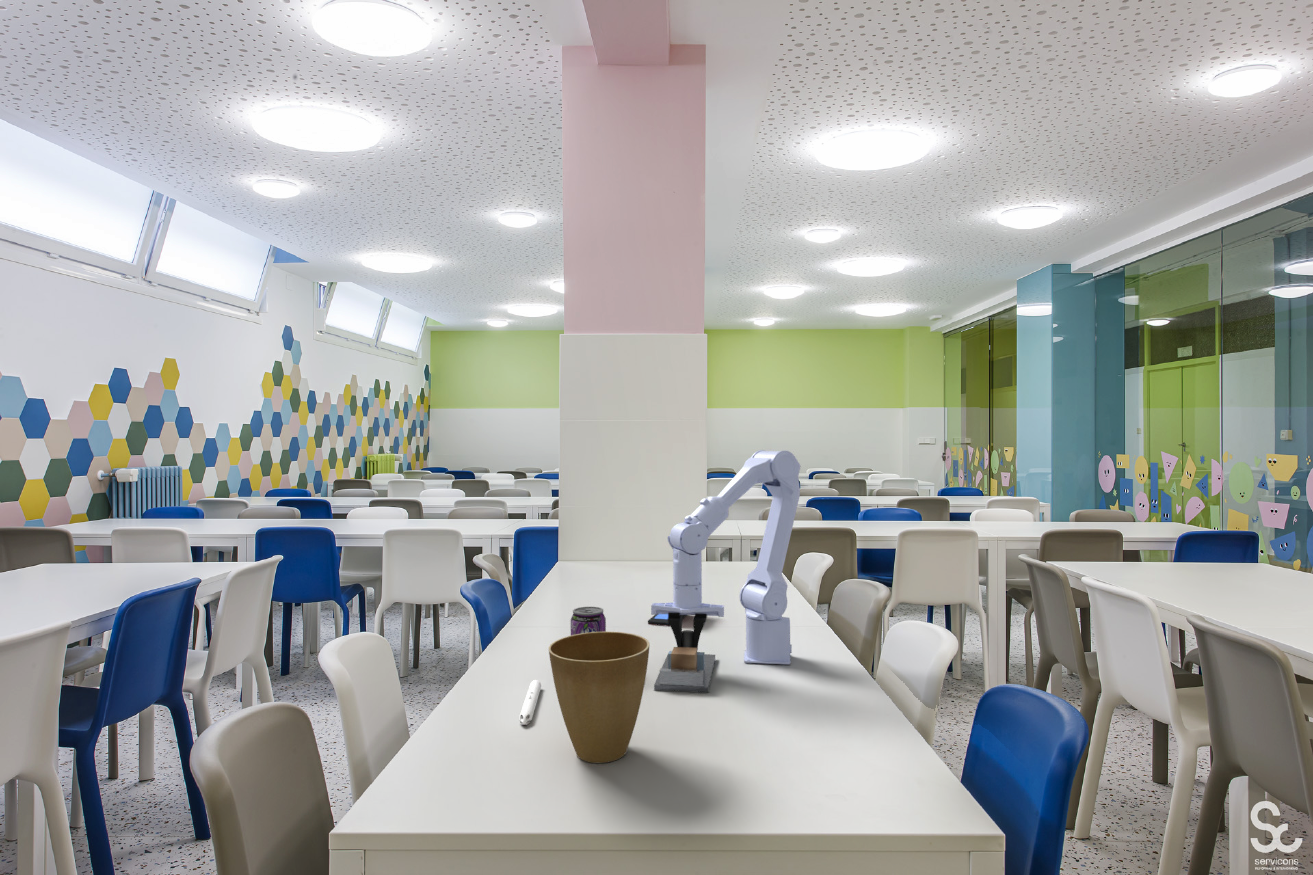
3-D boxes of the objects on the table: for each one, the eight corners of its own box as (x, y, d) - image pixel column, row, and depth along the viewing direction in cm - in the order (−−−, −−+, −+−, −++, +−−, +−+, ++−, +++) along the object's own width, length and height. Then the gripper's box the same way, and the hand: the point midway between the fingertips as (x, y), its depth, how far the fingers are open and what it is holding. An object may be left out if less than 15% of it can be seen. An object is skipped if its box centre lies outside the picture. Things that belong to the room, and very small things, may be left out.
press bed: (668, 657, 150) (668, 640, 150) (715, 659, 148) (715, 642, 148) (654, 690, 130) (654, 671, 130) (708, 692, 129) (708, 673, 129)
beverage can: (563, 671, 141) (563, 611, 141) (583, 662, 147) (583, 604, 147) (593, 677, 138) (593, 615, 138) (612, 666, 144) (612, 608, 144)
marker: (530, 729, 113) (530, 715, 113) (517, 730, 113) (517, 715, 113) (541, 690, 131) (541, 677, 131) (530, 690, 131) (530, 678, 131)
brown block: (697, 673, 136) (697, 647, 136) (695, 681, 132) (694, 654, 132) (674, 672, 137) (673, 646, 137) (671, 680, 133) (671, 653, 133)
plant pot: (598, 724, 115) (598, 625, 115) (670, 749, 105) (670, 641, 105) (527, 755, 103) (527, 646, 103) (600, 787, 94) (600, 666, 94)
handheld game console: (660, 613, 189) (660, 586, 189) (699, 616, 186) (699, 588, 186) (646, 625, 177) (646, 595, 177) (687, 628, 174) (687, 598, 174)
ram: (671, 660, 143) (671, 629, 143) (705, 662, 142) (705, 630, 142) (667, 670, 137) (667, 637, 137) (703, 672, 136) (703, 639, 136)
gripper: (648, 586, 139) (648, 655, 138) (722, 588, 136) (722, 658, 136) (654, 579, 146) (654, 645, 145) (724, 581, 143) (724, 647, 143)
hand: (687, 650), depth 141 cm, fingers closed on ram, 2 cm apart
